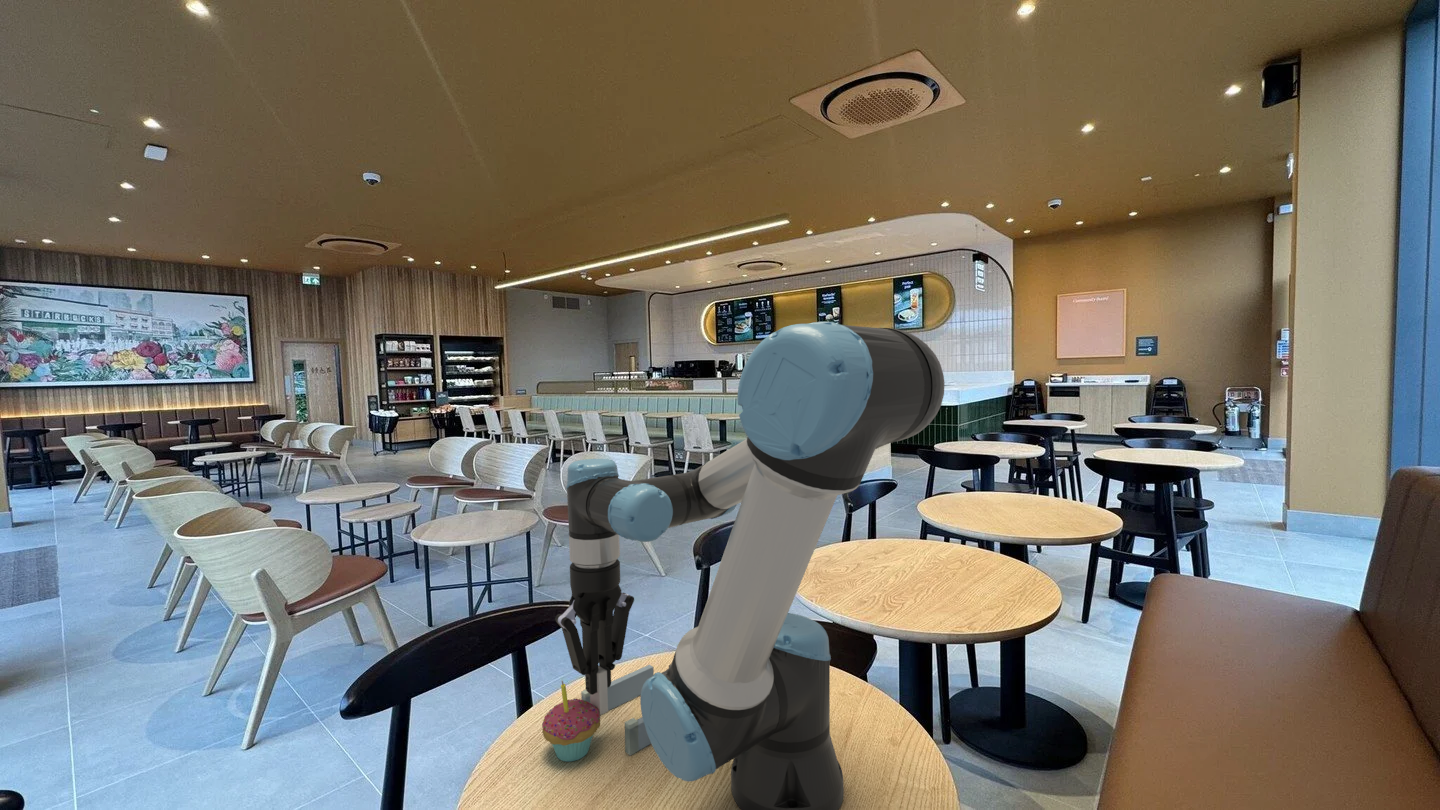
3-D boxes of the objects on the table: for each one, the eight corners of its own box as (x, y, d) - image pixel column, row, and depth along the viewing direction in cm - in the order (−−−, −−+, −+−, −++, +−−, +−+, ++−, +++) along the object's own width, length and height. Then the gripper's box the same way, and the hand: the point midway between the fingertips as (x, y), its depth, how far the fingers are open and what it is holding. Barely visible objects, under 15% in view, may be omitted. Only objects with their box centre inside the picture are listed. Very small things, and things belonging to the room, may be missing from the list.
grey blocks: (699, 716, 96) (699, 688, 96) (630, 755, 86) (629, 725, 86) (649, 686, 105) (649, 661, 105) (582, 718, 96) (581, 691, 95)
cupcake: (583, 774, 82) (581, 692, 81) (530, 765, 84) (527, 685, 84) (610, 737, 90) (608, 662, 90) (561, 730, 93) (559, 656, 92)
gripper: (616, 546, 96) (620, 684, 97) (543, 565, 87) (549, 717, 88) (643, 556, 91) (647, 702, 92) (569, 577, 82) (574, 739, 83)
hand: (599, 709), depth 90 cm, fingers closed
